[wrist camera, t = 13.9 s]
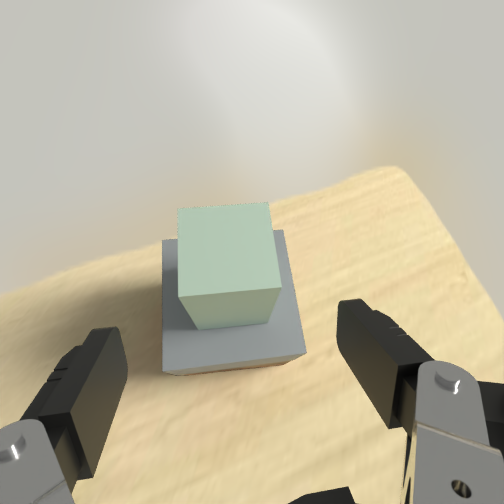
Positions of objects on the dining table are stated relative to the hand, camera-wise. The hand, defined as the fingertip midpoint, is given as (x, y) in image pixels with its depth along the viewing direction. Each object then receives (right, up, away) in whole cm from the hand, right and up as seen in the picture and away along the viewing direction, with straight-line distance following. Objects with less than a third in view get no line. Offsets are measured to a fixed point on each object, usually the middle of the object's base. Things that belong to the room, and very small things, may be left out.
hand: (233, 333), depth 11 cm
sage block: (-1, 0, +12) cm, 12 cm away
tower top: (-1, -2, +17) cm, 17 cm away
